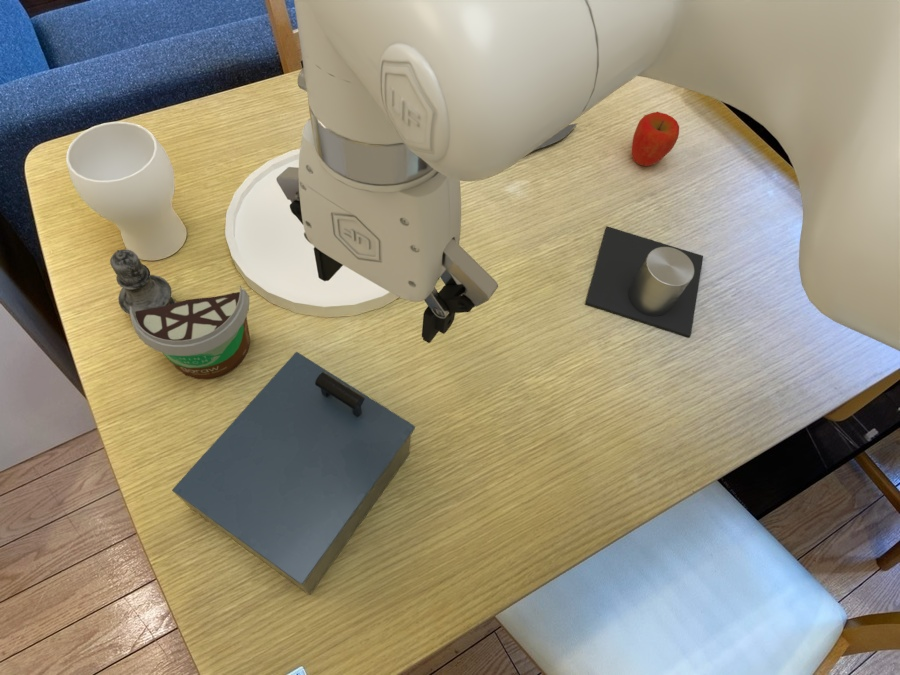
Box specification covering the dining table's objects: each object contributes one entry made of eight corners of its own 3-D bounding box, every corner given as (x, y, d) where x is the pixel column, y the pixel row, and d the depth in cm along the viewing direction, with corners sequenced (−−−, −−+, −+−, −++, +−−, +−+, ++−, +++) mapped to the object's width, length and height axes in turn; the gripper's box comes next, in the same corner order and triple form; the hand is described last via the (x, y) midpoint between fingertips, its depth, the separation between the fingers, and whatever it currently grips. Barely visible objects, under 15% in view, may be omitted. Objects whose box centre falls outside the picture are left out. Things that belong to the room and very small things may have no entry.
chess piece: (143, 340, 75) (103, 282, 64) (120, 307, 77) (78, 245, 66) (188, 315, 77) (157, 255, 66) (165, 283, 79) (131, 220, 68)
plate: (437, 321, 79) (439, 311, 77) (211, 313, 77) (205, 302, 75) (438, 161, 93) (439, 149, 91) (246, 151, 91) (243, 138, 89)
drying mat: (701, 257, 88) (703, 255, 88) (689, 338, 81) (690, 336, 81) (605, 228, 89) (606, 225, 89) (584, 304, 82) (585, 302, 82)
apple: (655, 180, 95) (674, 142, 88) (618, 163, 96) (634, 124, 90) (670, 156, 98) (689, 118, 91) (634, 140, 99) (651, 100, 93)
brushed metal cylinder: (675, 287, 84) (697, 255, 78) (669, 322, 81) (691, 291, 75) (632, 273, 85) (650, 240, 79) (624, 308, 82) (642, 276, 76)
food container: (158, 399, 71) (126, 357, 62) (155, 353, 74) (124, 307, 65) (269, 375, 74) (253, 332, 65) (261, 332, 76) (245, 284, 68)
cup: (173, 195, 86) (134, 105, 73) (213, 244, 82) (180, 158, 69) (98, 230, 82) (43, 142, 69) (136, 284, 78) (86, 201, 65)
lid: (297, 354, 69) (291, 333, 65) (415, 429, 65) (416, 411, 62) (173, 492, 60) (158, 477, 56) (302, 586, 57) (296, 577, 53)
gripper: (212, 94, 34) (266, 277, 49) (481, 240, 31) (452, 390, 45) (299, 28, 38) (325, 217, 53) (551, 152, 34) (503, 318, 49)
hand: (384, 297), depth 49 cm, fingers open, 9 cm apart
